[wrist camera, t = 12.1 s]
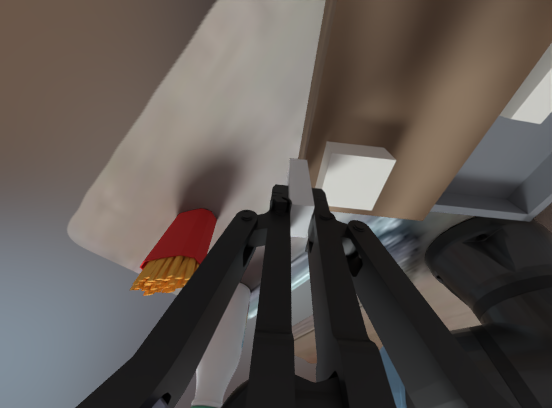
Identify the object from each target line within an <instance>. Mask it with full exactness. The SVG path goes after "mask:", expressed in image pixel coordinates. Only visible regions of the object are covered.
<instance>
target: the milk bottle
mask: <svg viewBox="0 0 552 408" xmlns="http://www.w3.org/2000/svg"><path fill="white" fill-rule="evenodd" d="M250 296H251V293H250V290H249V288H248V287H247V286H246V285H244V284H242V283H239V284H238V286H237V288H236V290H235V292H234V294H233V296H232V298H231V300H230V302H229V304H228V306H227V308H226V310H225V312H224V314H223V316H222V318H221V320H220V322H219V325H218V327H217V329H216V331H215V333H214V335H213V337H212V339H211V341H210V343H209V345H208V347H207V349H206V351H205V353H204V355H203V357H202V359H201V361H200V363H199V365H198V367H197V369H196V374H197V385H196V395H195V399H194V401H192V405H191V408H221V406H222V405H223V404H222V400H223V396H224V393H225V390H226V388H227V386H228V383H229V381H230V379H231V378H232V376H233V374H234V372H235V370H236V368H237V365H238V363H239V360H240V356H241V352H242V347H243V341H244V334H245V329H246V323H247V316H248V310H249V303H250Z"/></svg>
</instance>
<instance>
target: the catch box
mask: <svg viewBox="0 0 552 408" xmlns="http://www.w3.org/2000/svg"><path fill="white" fill-rule="evenodd" d="M551 203H552V112H551V113H550V114H549V115H548V116H547V117H546V119H545V120H544V121H543V122H542V123H541V124H537V123H531V122H525V121H519V120H513V119H509V118H506V117H502V116H498V118H497V119H496V120H495V122H494V123H493V125H492V126H491V127H490V129H489V130H488V131H487V133H486V134H485V136H484V137H483V138H482V140H481V141H480V143H479V144H478V145H477V147H476V148H475V149H474V151H473V152H472V154H471V155H470V156H469V158H468V159H467V160H466V162H465V163H464V165H463V166H462V167H461V169H460V170H459V172H458V173H457V174H456V176H455V177H454V178H453V180H452V181H451V183H450V184H449V185H448V187H447V188H446V190H445V191H444V192H443V194H442V195H441V196H440V198H439V199H438V201H437V202H436V203H435V205H434V206H433V207H432V209H431V210H430V211H434V212H443V213H452V214H462V215H471V216H481V217H490V218H500V219H509V220H519V221H528V222H530V221H531V220H532V219H533V218H534V217H535V216H537V215H538V214H539V213H540V212H541V211H542V210H544V209H545V208H546V207H547V206H548V205H549V204H551Z"/></svg>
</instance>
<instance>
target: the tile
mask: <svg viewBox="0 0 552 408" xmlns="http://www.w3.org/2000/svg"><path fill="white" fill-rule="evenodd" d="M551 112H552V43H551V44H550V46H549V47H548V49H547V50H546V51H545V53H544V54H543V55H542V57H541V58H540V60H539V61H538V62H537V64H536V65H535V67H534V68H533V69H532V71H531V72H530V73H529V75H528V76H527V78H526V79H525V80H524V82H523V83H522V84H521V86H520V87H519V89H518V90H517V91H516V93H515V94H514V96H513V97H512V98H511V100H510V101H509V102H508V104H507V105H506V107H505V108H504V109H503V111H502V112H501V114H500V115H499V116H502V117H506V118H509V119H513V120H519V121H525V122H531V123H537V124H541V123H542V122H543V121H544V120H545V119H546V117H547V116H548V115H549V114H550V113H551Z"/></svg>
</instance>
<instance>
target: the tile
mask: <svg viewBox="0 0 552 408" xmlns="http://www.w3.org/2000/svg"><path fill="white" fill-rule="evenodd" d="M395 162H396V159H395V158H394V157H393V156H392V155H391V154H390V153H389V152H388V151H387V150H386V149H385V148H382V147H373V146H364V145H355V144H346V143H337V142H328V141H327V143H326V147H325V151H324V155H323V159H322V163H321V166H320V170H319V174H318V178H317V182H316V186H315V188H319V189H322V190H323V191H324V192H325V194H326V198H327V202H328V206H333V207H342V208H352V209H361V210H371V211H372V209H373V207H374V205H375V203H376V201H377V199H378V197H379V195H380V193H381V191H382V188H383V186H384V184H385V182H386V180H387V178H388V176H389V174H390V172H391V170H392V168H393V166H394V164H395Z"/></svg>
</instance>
